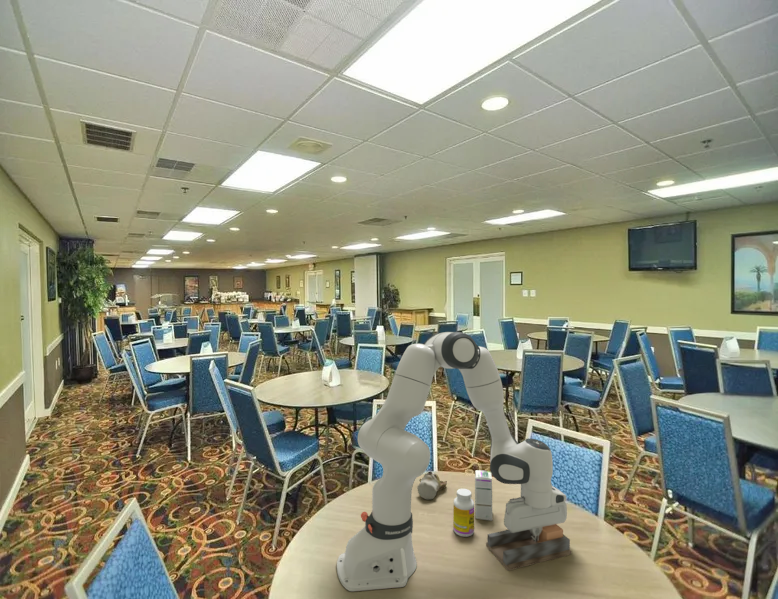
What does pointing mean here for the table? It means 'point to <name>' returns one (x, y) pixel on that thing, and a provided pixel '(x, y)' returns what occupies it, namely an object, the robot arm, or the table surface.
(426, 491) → the ceramic sculpture
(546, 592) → the table surface
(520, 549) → the chute
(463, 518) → the supplement bottle
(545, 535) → the peach block
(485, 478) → the syrup box
